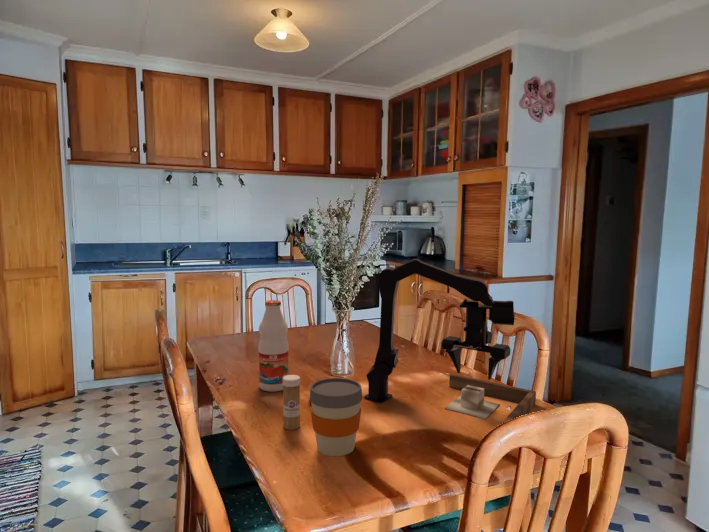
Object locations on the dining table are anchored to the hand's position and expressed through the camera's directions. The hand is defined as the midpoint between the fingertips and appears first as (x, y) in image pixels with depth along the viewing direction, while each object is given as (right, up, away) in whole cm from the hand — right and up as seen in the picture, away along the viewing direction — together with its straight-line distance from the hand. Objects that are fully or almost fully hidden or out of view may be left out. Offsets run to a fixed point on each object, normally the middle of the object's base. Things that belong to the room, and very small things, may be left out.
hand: (474, 376), depth 137 cm
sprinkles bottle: (-51, -11, -12) cm, 53 cm away
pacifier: (-45, -9, +5) cm, 46 cm away
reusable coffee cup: (-39, -12, -23) cm, 47 cm away
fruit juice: (-60, -7, +16) cm, 63 cm away
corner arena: (0, -9, -1) cm, 9 cm away
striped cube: (0, -9, +1) cm, 9 cm away
